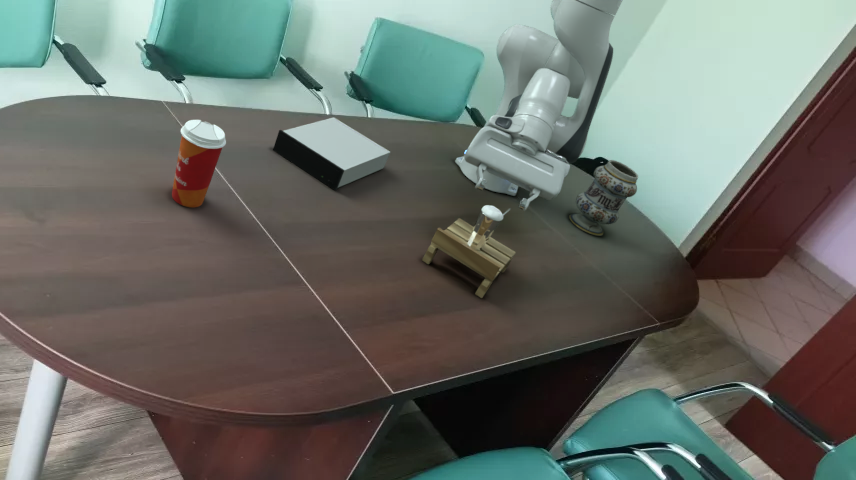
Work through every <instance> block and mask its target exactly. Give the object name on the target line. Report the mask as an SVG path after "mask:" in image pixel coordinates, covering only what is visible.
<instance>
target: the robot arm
mask: <svg viewBox="0 0 856 480" xmlns="http://www.w3.org/2000/svg"><path fill="white" fill-rule="evenodd" d="M622 3H623V0H552V1H551V3H550V7H549V8H550V10H549V11H550V15H551V19H552V20H553V22H552V23H553V30H554V33H555V36H556V37H555V36H552V35H550V34H548V33H547V32H544V31H542V30H540V29H538V28H536V27H533V26H529V25H526V24H525V25H524V24H520V23H515V24H513V25H510V26H508V28H506V29H505V30H504V31H503V32H502V34H501V35H500V37H499V39H498V41H497V44H496V57H497V61H498V63H499V64H500V67H501V70H502V75H503V91H502V96H501V97H500V100H499V104H498V106H497V108H496V110H495V112H494V114H493V115H491V117H489V118H488V119H487V121H485V124H484V125H483V127H482V128H480V129H479V131H478V132H477V133H476V134H475V136H474V137H473V139H472V140H471V142H470V144H469V145H468V147H467V149H466V150H465V151H464V154H463V156H459V157H458V156H457V157H456V158H455V160H454V162H455V164H456V165H457V166H458V167H459V168H460V170H461V172H462V174H463V175H464V176H466V178H468V180H469V181H471V182H473V183H474V184H475V186H474V189H477V190H479V191H482V192H483V189H486V190H489V191H491V192H496V193H501V194H507V195H509V196H513V197H515V196H516V195H517V193H518V189H519V188H521V189H524V190H525V191H528V192H529V197H528V198H525V197H523V198H522V199H521V200H520V202H519V204H518V206H517V208H518V209H520V210H522V211H524V212H525V211H526V210H527V209H528V207H529V205H530V203H532V202H533V201H534V200H535V199H537V198H538V197H541V198H542V199H545V200H547V201H550V200H554V199H555V198H557V197H558V195H559V194H560V193H561V190H562V187H563V184H564V182H565V181H564V180H565V179H566V178H567V176H568V175H569V172H570V170H571V164H573V163H576V162H577V160H578V159H579V158H580V157H581V156H582V154H583V152H584V150H585V148H586V145H587V140H588V135H589V131H590V128H591V125H592V121H593V119H594V116H595V113H596V110H597V107H598V104H599V101H600V99H601V96H602V93H603V90H604V87H605V84H606V82H607V78H608V75H609V72H610V69H611V66H612V62H613V58H614V57H613V56H614V47H613V46H612V44H611V43H610V31H611V27H612V24H613V21H614V19H615V18H616V17H615V16H616V15H617V13H618V11H619V10H620V7H621V5H622ZM568 98H572V99H576V100H577V102H576V104H575V107H574V110H573V113H572V115H571V116H566V115H563V114H562V113H563V111H564V108H565V105H566V102H567V99H568Z"/></svg>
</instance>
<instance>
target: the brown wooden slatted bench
mask: <svg viewBox="0 0 856 480" xmlns="http://www.w3.org/2000/svg"><path fill="white" fill-rule="evenodd" d="M473 228H474V225H471V224H470V223H468V222H466V221H465V220H463V219H462V218H460V217H459V218H457V219H456V220H455V221H454V222H453V223H451V224H450V225H449V226H447V228H446V229H442V228H441V227H437V229H436V231H435V232H434V235H433V237H432V239H431V240H430V242H431V243H430V245H429V246H428V248H427V250H426V251H425V253H424V256H423V257H422V259H421V261H423V263H426V264H427V265H430V264H431V263H432V262H433V260H434V258H435V256H436V254H437V253H438V250H440V251H442V252H443V253H445V254H447V255H448V256H449V257H451V258H453V259H454V260H456V261H458V262H459V263H461V264H462V265H464V266H466V267H467V268H469V269H470V270H472V271H474V272H475V273H477V274H479V276H481V277H483V278H484V279H483V280H482V281H481V283H480V284H479V286H478V287H477V290H476V291H475V293H474V295H475V296H477V297H479V298H480V299H483V298H484V297H485V295H486V294H487V292H488V290H489V289H490V287H491V285H492V283H493V281H495V279H496V278H497V277H498V275H499V274H500V273H504V272H506V269H507V268H508V267H509V265H510V262H512V260H513V257H514V256H515V255H516V251H514V250H513V249H511V248H509V247H508V246H506V245H505V244H503V243H501V242H500V241H498V240H496V239H494V238H493V237H491V236H490V238H489V239H488V241H487V242H486V244H485V245H484V247H483V248H482V250H479V251H478V250H475V249H473V248H472V247H470V246H469V245H468V244H467V241H468V239H469V237H470V234H471V232H472V230H473Z"/></svg>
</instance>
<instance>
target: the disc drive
mask: <svg viewBox="0 0 856 480" xmlns="http://www.w3.org/2000/svg"><path fill="white" fill-rule="evenodd" d="M272 151H273V152H275V153H277V154H279V155H280V156H281V157H283V158H284V159H286V160H287V161H289V162H291V163H292V164H294V165H295V166H297V167H299V169H301V170H303V171H305V172H306V173H307V174H309V175H311V176H312V177H314V178H315V179H317V180H319V181H320V182H321V183H323V184H325V185H326V186H328V187H329V188H331V189H332V190H334V191H337V190H338V189H339V188H341V187H344V186H346V185H348V184H350V183H352V182H355V181H357V180H359V179H361V178H364V177H367V176H369V175H371V174H373V173H376V172H378V171H380V170H382V169H384V168H385V166H386V164H387V162H388V159H389V156H390V154H391V151H389V150H388V149H386V148H385V147H383V146H382V145H380V144H378V143H376V142H375V141H373V140H372V139H370V138H368V137H367V136H365V135H364V134H362V133H360V132H359V131H357V130H356V129H353V128H352V127H350V126H349V125H347V124H345V123H344V122H342V121H340V120H339V119H338V118H336V117H335V116H334V117H329V118H326V119H321V120H318V121H314V122H311V123H308V124H304V125H303V124H302V125H298V126H296V127H292V128H288V129H284V130H283V129H280V130H278V133H277V136H276V139H275V142H274V146H273V149H272Z"/></svg>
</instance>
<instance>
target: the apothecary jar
mask: <svg viewBox="0 0 856 480" xmlns="http://www.w3.org/2000/svg"><path fill="white" fill-rule="evenodd" d="M593 178H594V179H593V180H592V182H591V184H589V187H588V188H587V189H586V191H582V192H580V193H578V194H577V196H576V197H575V204H576V207H577V209H578V210H579V212H580V213H571V214H569V220H570V221H571V223H572V224H573V225H574V226H576V228H578V229H579V230H581V231H583V232H584V233H587V234H588V235H591V236H592V235H593V236H598V237H599V236H603V235H604V230H603V228H602V226H601V225H613V224H615V223H617V221H618V220H619V218H620V209H621V207H622V205H623V204H624V203H625V201H626V200H627V199H628V198H632V197H633V196H635V195H636V194H637V191H638V185H637V182H638V179H639V174H638V173H637V172H636V171H635V170H633V169H632V168H631V167H629V166H628V165H626V164H624V163H622V162H620V161H617V160H614V159H609V160H608V161H607V162H606V163H605V164H604V165H599V166H597V167H596V168H595V169H594V171H593ZM600 224H601V225H600Z"/></svg>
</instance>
